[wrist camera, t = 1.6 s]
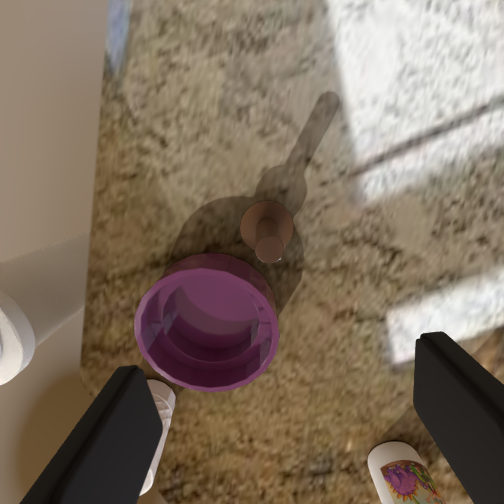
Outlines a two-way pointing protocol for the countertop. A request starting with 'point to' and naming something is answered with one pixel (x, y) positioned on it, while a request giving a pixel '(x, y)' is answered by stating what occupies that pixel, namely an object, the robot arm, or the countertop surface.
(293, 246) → the countertop surface
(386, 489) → the milk bottle
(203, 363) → the bowl
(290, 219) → the dish brush
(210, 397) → the countertop surface
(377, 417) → the countertop surface
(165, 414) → the white cup
